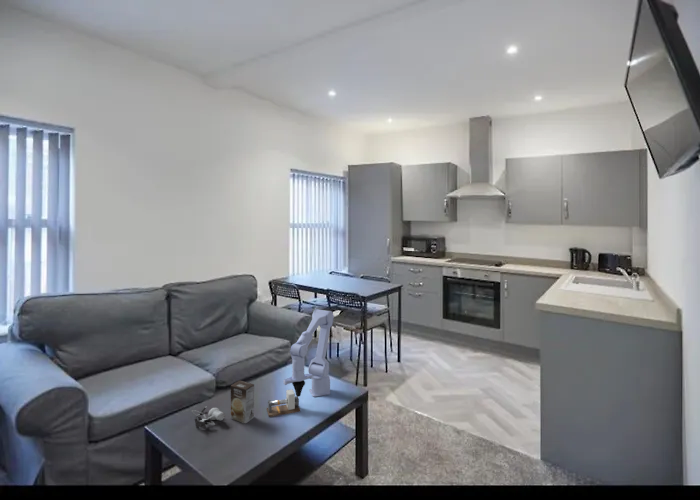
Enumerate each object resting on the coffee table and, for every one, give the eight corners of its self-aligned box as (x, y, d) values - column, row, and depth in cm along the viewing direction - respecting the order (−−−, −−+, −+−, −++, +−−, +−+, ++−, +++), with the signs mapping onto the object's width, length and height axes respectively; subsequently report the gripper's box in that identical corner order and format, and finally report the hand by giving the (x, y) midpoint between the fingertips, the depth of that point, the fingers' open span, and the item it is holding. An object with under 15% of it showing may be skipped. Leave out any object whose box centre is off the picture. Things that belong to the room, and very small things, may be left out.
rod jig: (297, 404, 186) (297, 393, 186) (300, 411, 180) (300, 400, 179) (266, 409, 181) (266, 398, 181) (268, 417, 174) (268, 405, 174)
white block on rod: (292, 403, 184) (292, 389, 184) (294, 408, 180) (294, 393, 179) (286, 404, 183) (286, 390, 183) (288, 409, 179) (288, 394, 178)
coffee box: (229, 419, 172) (229, 385, 171) (239, 412, 178) (239, 379, 177) (245, 424, 168) (245, 389, 167) (255, 417, 174) (254, 383, 173)
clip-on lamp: (187, 424, 173) (203, 432, 160) (184, 411, 173) (200, 417, 160) (212, 413, 181) (228, 419, 168) (209, 400, 181) (226, 405, 168)
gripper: (308, 362, 188) (307, 388, 190) (280, 368, 181) (280, 395, 182) (314, 367, 183) (314, 394, 184) (286, 373, 175) (286, 401, 176)
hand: (298, 395), depth 182 cm, fingers closed
